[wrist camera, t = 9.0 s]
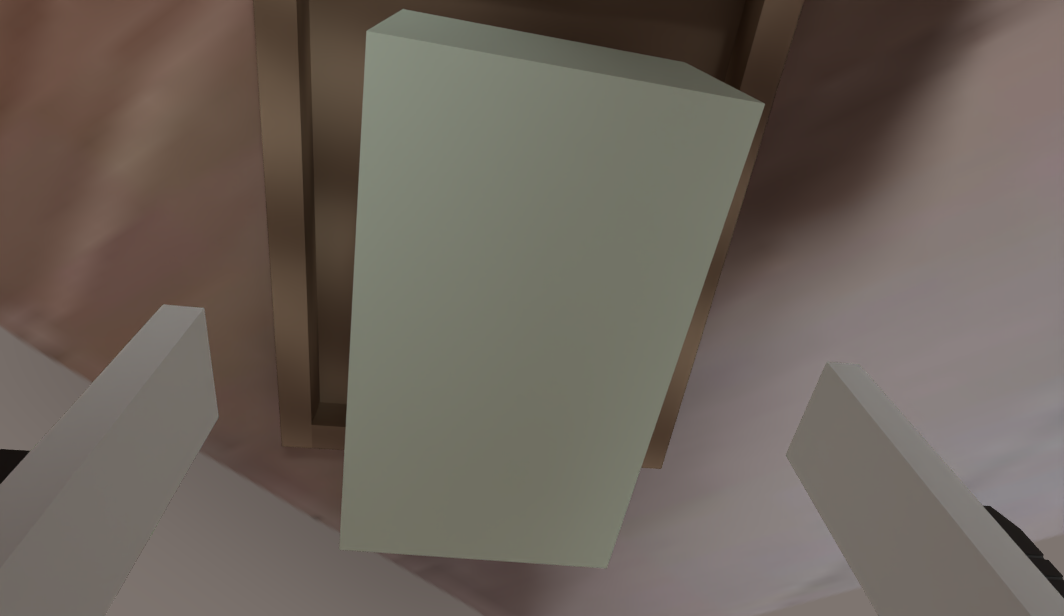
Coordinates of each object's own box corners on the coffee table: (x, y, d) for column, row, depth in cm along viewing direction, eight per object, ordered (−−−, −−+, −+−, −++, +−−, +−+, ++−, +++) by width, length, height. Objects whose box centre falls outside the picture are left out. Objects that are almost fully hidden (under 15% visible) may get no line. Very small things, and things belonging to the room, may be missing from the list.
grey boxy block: (580, 439, 25) (606, 568, 19) (371, 418, 24) (339, 549, 18) (684, 62, 18) (765, 103, 13) (402, 9, 17) (366, 30, 12)
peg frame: (266, -139, 18) (222, -159, 15) (791, -51, 20) (846, -53, 17) (294, 415, 28) (270, 472, 25) (650, 438, 30) (670, 494, 26)
